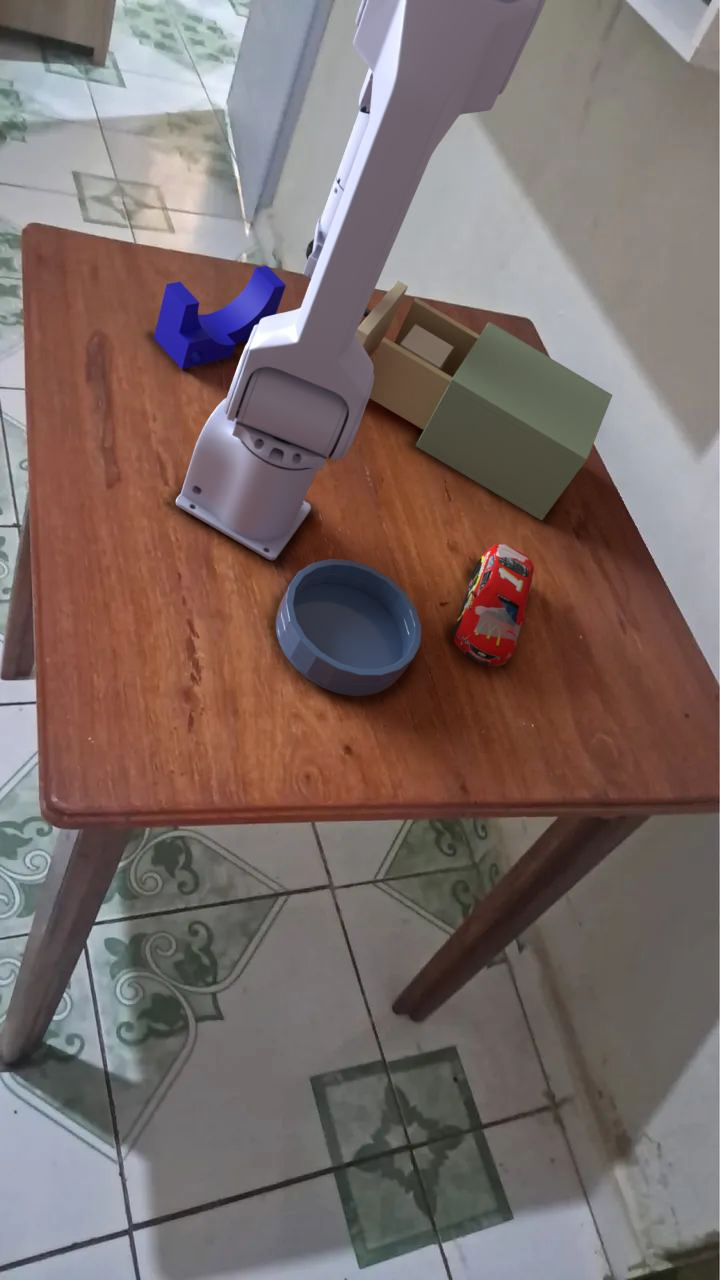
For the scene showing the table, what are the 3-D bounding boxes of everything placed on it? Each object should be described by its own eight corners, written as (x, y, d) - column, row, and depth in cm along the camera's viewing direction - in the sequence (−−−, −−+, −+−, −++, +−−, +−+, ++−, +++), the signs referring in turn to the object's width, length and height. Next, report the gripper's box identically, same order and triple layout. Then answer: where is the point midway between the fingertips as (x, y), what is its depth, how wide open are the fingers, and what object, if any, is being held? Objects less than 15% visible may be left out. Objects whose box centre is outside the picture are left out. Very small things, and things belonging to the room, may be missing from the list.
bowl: (251, 647, 73) (262, 624, 71) (310, 560, 80) (321, 537, 78) (377, 720, 73) (392, 700, 71) (424, 627, 80) (439, 606, 78)
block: (383, 379, 96) (400, 343, 92) (398, 359, 99) (415, 323, 95) (421, 402, 96) (440, 367, 92) (435, 381, 99) (454, 346, 95)
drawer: (298, 364, 94) (320, 307, 89) (342, 315, 101) (364, 260, 96) (450, 454, 94) (481, 402, 89) (482, 398, 102) (512, 348, 97)
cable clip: (181, 369, 89) (196, 316, 84) (153, 337, 90) (166, 284, 85) (277, 344, 96) (295, 295, 92) (250, 316, 97) (267, 265, 93)
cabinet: (415, 446, 94) (451, 379, 88) (453, 386, 103) (489, 321, 96) (541, 520, 95) (587, 459, 88) (569, 455, 103) (612, 394, 97)
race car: (498, 682, 80) (521, 655, 77) (442, 651, 80) (462, 624, 77) (529, 581, 89) (551, 554, 86) (478, 554, 88) (498, 525, 85)
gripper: (375, 241, 81) (324, 366, 91) (429, 184, 91) (377, 303, 101) (304, 198, 81) (260, 328, 91) (365, 146, 91) (319, 269, 101)
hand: (317, 313), depth 96 cm, fingers closed
